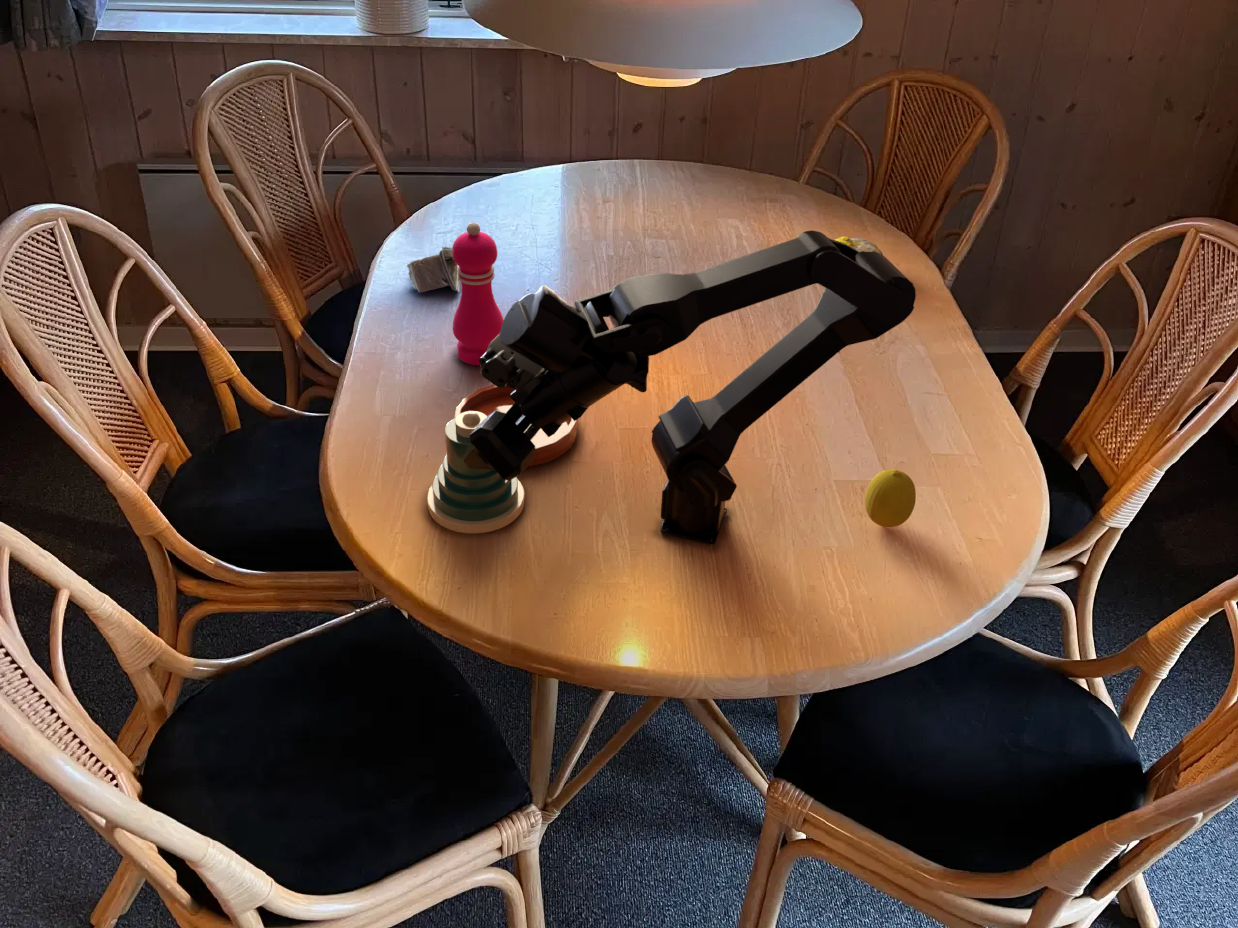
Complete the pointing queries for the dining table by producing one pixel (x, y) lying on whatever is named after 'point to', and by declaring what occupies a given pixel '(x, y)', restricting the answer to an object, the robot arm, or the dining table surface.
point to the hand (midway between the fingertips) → (486, 441)
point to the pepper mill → (475, 294)
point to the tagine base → (545, 446)
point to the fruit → (859, 244)
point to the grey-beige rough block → (434, 272)
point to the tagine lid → (471, 486)
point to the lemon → (890, 498)
